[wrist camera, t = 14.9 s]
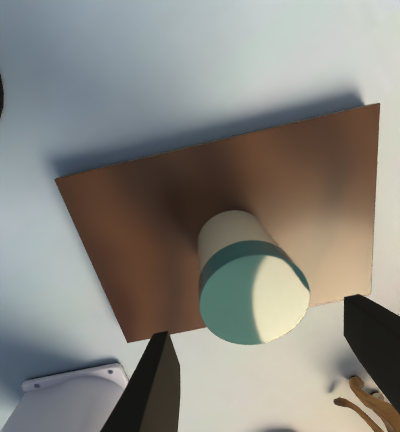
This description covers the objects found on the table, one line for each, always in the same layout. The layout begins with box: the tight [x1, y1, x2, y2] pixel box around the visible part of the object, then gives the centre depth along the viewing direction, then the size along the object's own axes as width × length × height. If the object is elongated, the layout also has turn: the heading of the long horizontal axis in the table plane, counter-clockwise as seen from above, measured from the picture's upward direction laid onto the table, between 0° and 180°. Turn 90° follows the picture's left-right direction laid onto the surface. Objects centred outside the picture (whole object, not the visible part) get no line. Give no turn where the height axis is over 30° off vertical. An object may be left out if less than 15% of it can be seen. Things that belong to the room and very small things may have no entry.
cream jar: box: [197, 210, 310, 345], centre depth 13 cm, size 5×5×6 cm
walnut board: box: [55, 103, 380, 343], centre depth 17 cm, size 20×14×1 cm
